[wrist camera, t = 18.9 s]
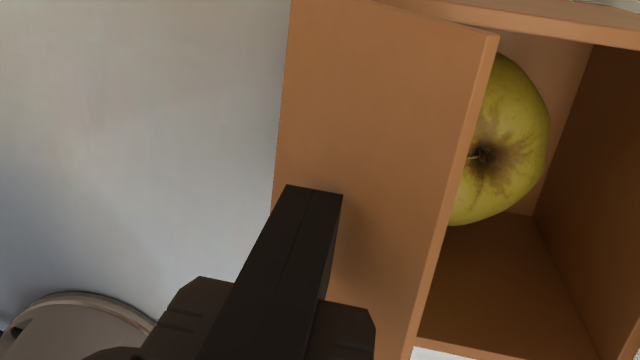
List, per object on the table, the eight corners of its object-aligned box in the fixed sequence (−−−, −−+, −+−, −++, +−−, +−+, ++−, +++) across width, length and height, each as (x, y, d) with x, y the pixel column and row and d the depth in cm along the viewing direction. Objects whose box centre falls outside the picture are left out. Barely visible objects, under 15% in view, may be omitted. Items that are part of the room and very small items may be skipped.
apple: (333, 155, 28) (341, 187, 18) (409, 27, 26) (462, -15, 17) (454, 224, 28) (525, 292, 18) (532, 102, 27) (653, 105, 17)
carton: (318, 180, 30) (206, 470, 13) (348, -33, 25) (228, -3, 8) (549, 223, 29) (751, 604, 12) (631, 9, 24) (1186, 149, 7)
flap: (267, 324, 18) (258, 327, 18) (305, -17, 13) (292, -18, 13) (380, 465, 14) (370, 472, 14) (502, 34, 9) (488, 34, 9)
